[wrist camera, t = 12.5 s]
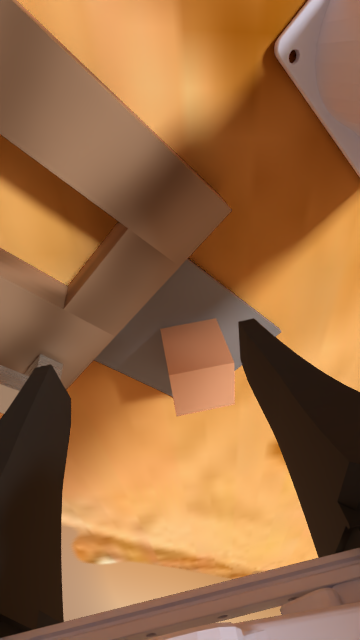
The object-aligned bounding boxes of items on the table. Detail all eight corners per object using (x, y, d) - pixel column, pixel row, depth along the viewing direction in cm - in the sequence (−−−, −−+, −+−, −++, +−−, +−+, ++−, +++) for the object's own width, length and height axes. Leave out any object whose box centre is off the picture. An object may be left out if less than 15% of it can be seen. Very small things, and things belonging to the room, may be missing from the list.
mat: (279, 328, 26) (281, 331, 26) (191, 402, 30) (192, 406, 29) (185, 256, 21) (186, 259, 21) (93, 355, 25) (93, 359, 24)
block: (215, 318, 24) (234, 362, 20) (218, 358, 26) (234, 404, 23) (160, 328, 24) (169, 375, 20) (167, 368, 26) (176, 416, 23)
